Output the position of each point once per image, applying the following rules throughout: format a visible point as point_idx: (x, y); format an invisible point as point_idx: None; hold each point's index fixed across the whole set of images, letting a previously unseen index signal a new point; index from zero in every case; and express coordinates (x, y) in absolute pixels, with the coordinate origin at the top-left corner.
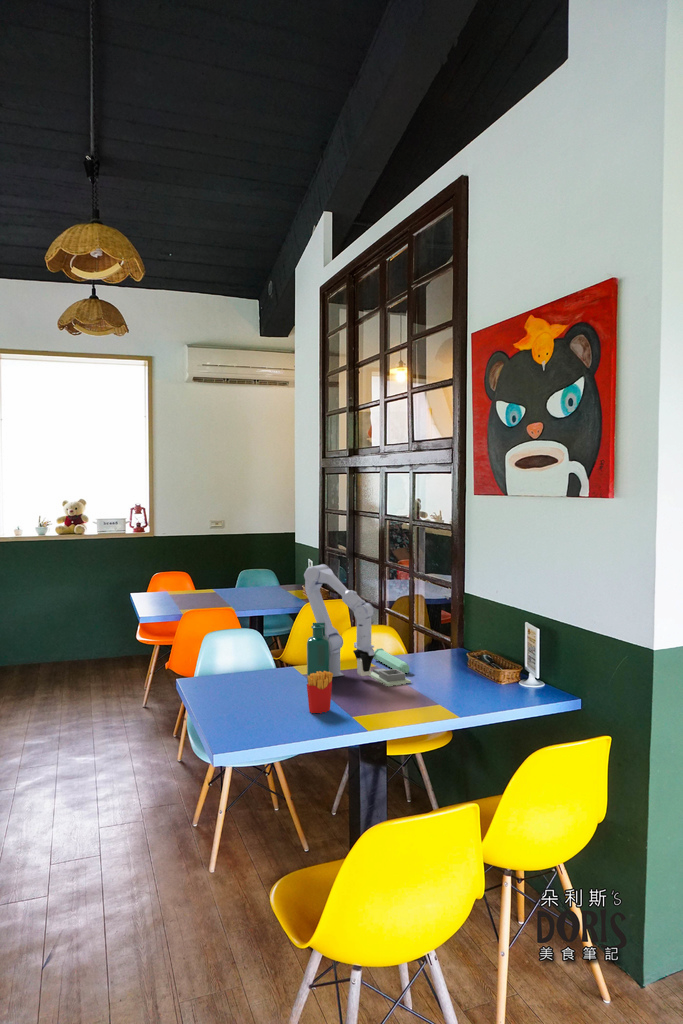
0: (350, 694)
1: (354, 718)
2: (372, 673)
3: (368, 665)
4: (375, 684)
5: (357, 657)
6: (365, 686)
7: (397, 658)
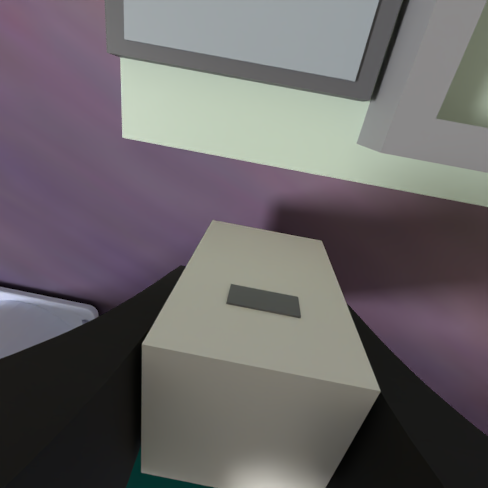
0: None
1: None
2: (193, 117)
3: None
4: (437, 260)
5: (128, 479)
6: (411, 340)
7: None
